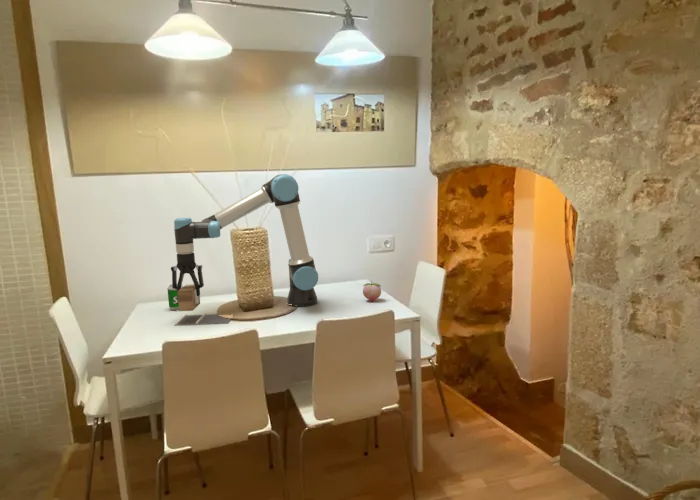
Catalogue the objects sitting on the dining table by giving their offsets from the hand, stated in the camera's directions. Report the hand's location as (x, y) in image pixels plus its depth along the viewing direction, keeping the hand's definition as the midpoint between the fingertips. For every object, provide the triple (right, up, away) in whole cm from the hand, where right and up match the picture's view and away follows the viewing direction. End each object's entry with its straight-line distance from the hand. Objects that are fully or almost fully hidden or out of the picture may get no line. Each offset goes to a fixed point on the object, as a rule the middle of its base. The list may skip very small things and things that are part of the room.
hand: (189, 303), depth 231 cm
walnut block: (0, -2, 0) cm, 2 cm away
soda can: (-13, -5, +23) cm, 27 cm away
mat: (+7, -8, +1) cm, 11 cm away
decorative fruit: (+84, -2, +25) cm, 87 cm away
